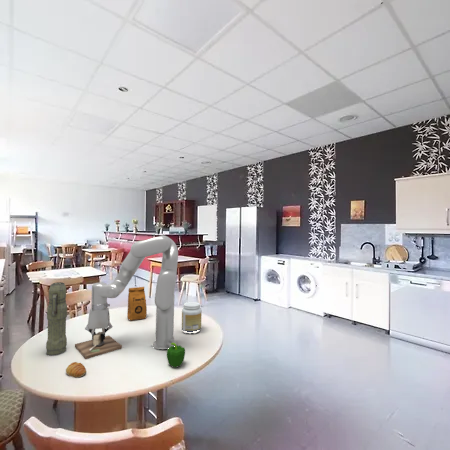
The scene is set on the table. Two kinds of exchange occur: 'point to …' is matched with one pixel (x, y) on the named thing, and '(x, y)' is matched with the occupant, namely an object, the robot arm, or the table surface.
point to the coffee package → (136, 304)
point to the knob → (97, 340)
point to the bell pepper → (175, 355)
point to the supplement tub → (191, 317)
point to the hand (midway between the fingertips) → (98, 340)
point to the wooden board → (106, 348)
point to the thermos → (56, 319)
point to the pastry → (76, 370)
